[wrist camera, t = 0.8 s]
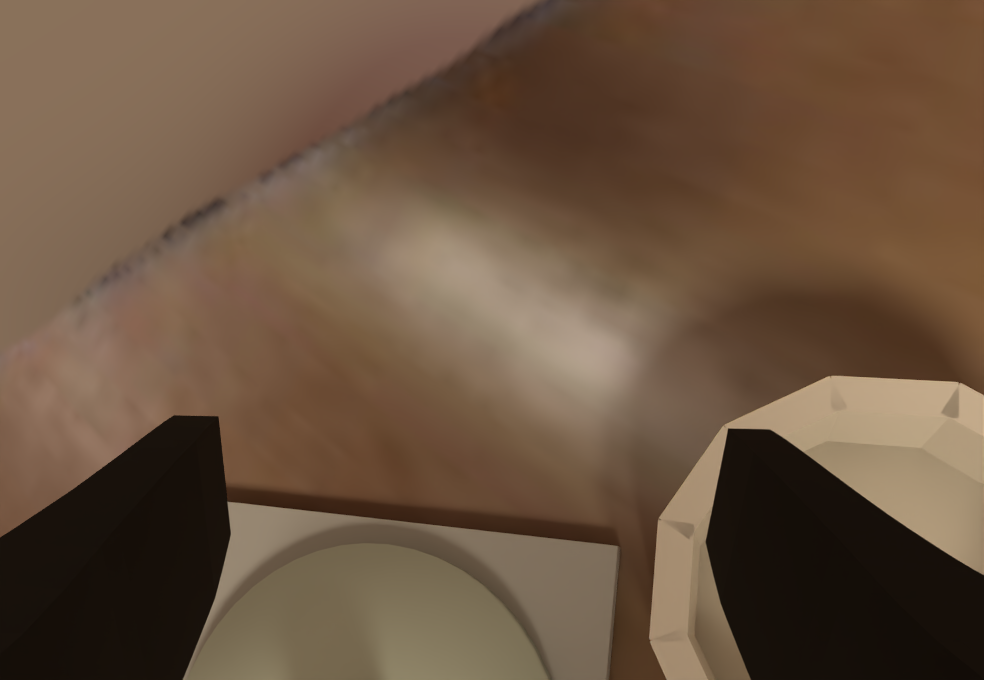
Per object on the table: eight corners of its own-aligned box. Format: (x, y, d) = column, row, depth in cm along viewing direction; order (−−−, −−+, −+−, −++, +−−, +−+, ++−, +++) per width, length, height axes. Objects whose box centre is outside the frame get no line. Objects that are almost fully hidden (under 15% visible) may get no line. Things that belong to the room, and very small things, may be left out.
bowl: (1114, 881, 21) (1206, 941, 17) (653, 791, 24) (635, 823, 20) (1083, 434, 24) (1154, 392, 20) (680, 408, 27) (669, 367, 23)
